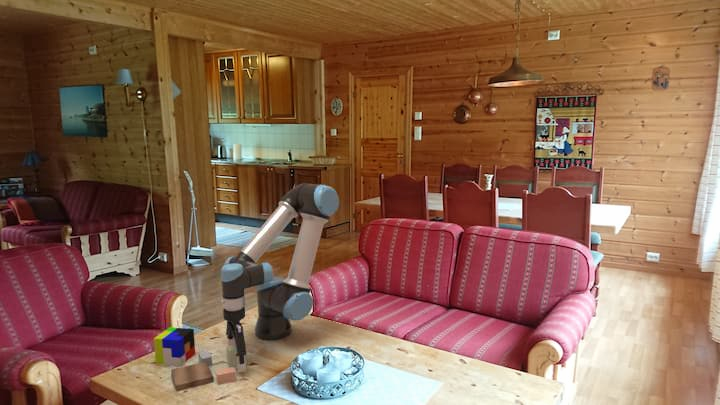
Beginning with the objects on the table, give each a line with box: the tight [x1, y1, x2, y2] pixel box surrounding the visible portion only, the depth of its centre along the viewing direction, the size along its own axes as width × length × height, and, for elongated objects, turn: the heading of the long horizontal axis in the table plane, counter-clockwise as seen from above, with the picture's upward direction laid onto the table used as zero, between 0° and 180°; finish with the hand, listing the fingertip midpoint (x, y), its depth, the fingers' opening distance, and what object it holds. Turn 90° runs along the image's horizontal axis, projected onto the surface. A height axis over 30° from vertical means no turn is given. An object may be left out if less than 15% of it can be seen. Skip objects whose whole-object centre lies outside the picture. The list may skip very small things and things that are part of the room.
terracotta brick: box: [215, 367, 237, 385], centre depth 164 cm, size 6×4×4 cm, turn 113°
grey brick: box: [197, 349, 213, 367], centre depth 176 cm, size 6×4×4 cm, turn 30°
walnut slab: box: [170, 361, 214, 392], centre depth 165 cm, size 12×12×2 cm
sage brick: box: [226, 344, 248, 369], centre depth 174 cm, size 6×4×7 cm, turn 118°
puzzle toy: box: [153, 326, 196, 367], centre depth 179 cm, size 10×10×10 cm
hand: (236, 363), depth 174 cm, fingers open, 13 cm apart
